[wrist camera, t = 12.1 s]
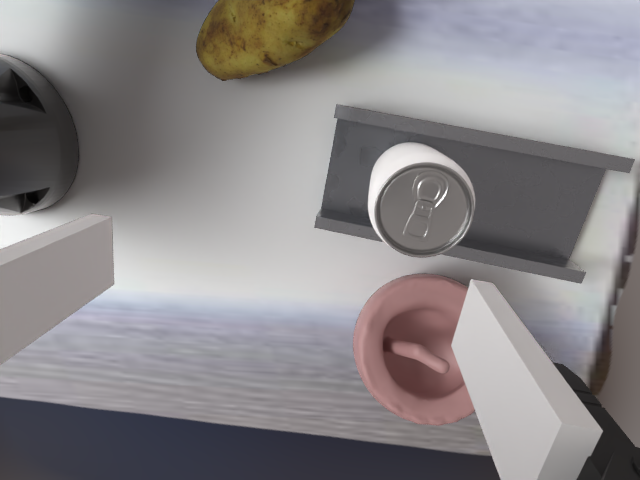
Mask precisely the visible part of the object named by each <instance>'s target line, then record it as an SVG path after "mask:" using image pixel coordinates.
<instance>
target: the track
mask: <svg viewBox="0 0 640 480" xmlns="http://www.w3.org/2000/svg"><path fill="white" fill-rule="evenodd" d="M334 118H338V119H337V125H336V130H335V136H334V141H333V147H332V152H331V158H330V163H329V169H328V174H327V180H326V185H325V191H324V196H323V202H322V207H321V210H320V211H319V213H318V215H317V216H316V222H315V227H314V228H319V229H324V230H329V231H333V232H338V233H343V234H348V235H353V236H357V237H362V238H367V239H372V240H376V241H381V242H384V241H383V240H382V239H381V238H380V237H379V236H378V234H377V233H376V231H375V230H374V228H373V226H372V223H371V221H370V217H369V212H368V195H369V186H370V179H371V173H372V170H373V167H374V165H375V163H376V161H377V160H378V158H379V157H380V156H381V155H382V154H383V153H384V152H385V151H386V150H388V149H389V148H391V147H393V146H395V145H397V144H401V143H407V142H415V143H421V144H425V145H428V146H430V147H432V148H433V149H435V150H437V151H439V152H440V153H442V154H444V155H445V156H447V157H448V158H450V159H451V160H453V161H454V162H455V163H457V164H458V165H459V166H460V167H461V168H462V169H463V170H464V171H465V173H466V174H467V176H468V177H469V179H470V181H471V183H472V186H473V189H474V194H475V210H474V216H473V220H472V224H471V226H470V228H469V230H468V232H467V234H466V235H465V236H464V238H463V239H462V240H461V241H460V242H459V243H458V244H457V245H456V246H454V247H453V248H452V249H450V250H448V251H446V252H444V253H442V254H443V255H448V256H452V257H457V258H462V259H467V260H472V261H476V262H481V263H486V264H491V265H495V266H500V267H505V268H510V269H514V270H519V271H524V272H529V273H533V274H538V275H543V276H548V277H552V278H557V279H562V280H567V281H571V282H576V283H582V281H583V279H584V276H585V274H586V272H585V271H584V270H582V269H581V268H580V267H578V266H577V265H576V264H574V263H573V262H572V261H570V260H569V258H570V255H571V253H572V250H573V248H574V245H575V243H576V240H577V238H578V236H579V233H580V231H581V228H582V226H583V223H584V221H585V218H586V216H587V214H588V211H589V209H590V206H591V204H592V201H593V199H594V197H595V194H596V192H597V189H598V187H599V184H600V182H601V179H602V177H603V175H604V172H605V170H606V169H610V170H615V171H621V172H626V173H629V172H630V169H631V167H632V165H633V162H634V160H635V159H630V158H625V157H619V156H614V155H608V154H603V153H598V152H592V151H587V150H581V149H576V148H571V147H565V146H560V145H554V144H549V143H543V142H538V141H533V140H527V139H522V138H516V137H511V136H505V135H500V134H495V133H489V132H484V131H478V130H473V129H467V128H462V127H457V126H451V125H446V124H440V123H435V122H429V121H424V120H419V119H413V118H408V117H402V116H397V115H392V114H386V113H381V112H375V111H370V110H364V109H359V108H354V107H348V106H343V105H337V104H336V110H335V115H334Z"/></svg>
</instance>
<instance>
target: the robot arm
mask: <svg viewBox="0 0 640 480" xmlns="http://www.w3.org/2000/svg"><path fill="white" fill-rule="evenodd" d="M77 165H78V141H77V135H76V131H75V127H74V124H73V121H72V118H71V116H70V113H69V111H68V109H67V107H66V105H65V103H64V102H63V100H62V98H61V97H60V95H59V94H58V93H57V91H56V90H55V89H54V87H53V86H52V85H51V84H50V83H49V82H48V81H47V80H46V79H45V78H44V77H43V76H42V75H41V74H40V73H39V72H37V71H36V70H35V69H34V68H32V67H31V66H29V65H27V64H26V63H24V62H22V61H20V60H18V59H16V58H13V57H10V56H7V55H3V54H0V215H4V216H11V215H21V214H26V213H30V212H33V211H37V210H41V209H44V208H47V207H49V206H51V205H53V204H54V203H56V202H57V201H58V200H60V199H61V198H62V197H63V196H64V195H65V193H66V192H67V191H68V189H69V188H70V186H71V184H72V182H73V180H74V177H75V174H76V170H77ZM113 285H114V263H113V234H112V217H109V216H103V215H97V214H90V215H87V216H84V217H82V218H79V219H77V220H74V221H72V222H69V223H67V224H64V225H61V226H59V227H56V228H54V229H51V230H49V231H46V232H43V233H41V234H38V235H36V236H33V237H31V238H28V239H26V240H23V241H20V242H18V243H15V244H13V245H10V246H8V247H5V248H3V249H0V365H1V364H3V363H4V362H6V361H7V360H8V359H10V358H11V357H13V356H14V355H15V354H17V353H18V352H20V351H21V350H22V349H24V348H25V347H27V346H28V345H29V344H31V343H32V342H34V341H35V340H37V339H38V338H39V337H41V336H42V335H44V334H45V333H46V332H48V331H49V330H51V329H52V328H53V327H55V326H56V325H58V324H59V323H60V322H62V321H63V320H65V319H66V318H67V317H69V316H70V315H72V314H73V313H75V312H76V311H77V310H79V309H80V308H82V307H83V306H84V305H86V304H87V303H89V302H90V301H91V300H93V299H94V298H96V297H97V296H98V295H100V294H101V293H103V292H104V291H105V290H107V289H108V288H110V287H111V286H113ZM451 347H452V349H453V352H454V355H455V358H456V360H457V363H458V366H459V368H460V371H461V374H462V376H463V379H464V382H465V384H466V387H467V390H468V393H469V395H470V398H471V401H472V403H473V406H474V409H475V411H476V414H477V417H478V420H479V422H480V425H481V428H482V430H483V433H484V436H485V438H486V441H487V444H488V447H489V449H490V452H491V455H492V457H493V460H494V463H495V465H496V468H497V471H498V474H499V476H500V479H501V480H640V448H638V447H635V446H634V444H633V443H632V442H631V441H630V439H629V438H628V437H627V436H626V434H625V433H624V432H623V431H622V430H621V428H620V427H619V426H618V425H617V423H616V422H615V421H614V420H613V418H612V417H611V416H610V415H609V413H608V412H607V411H606V410H605V408H602V407H601V403H600V402H599V401H598V400H597V398H596V397H595V396H594V395H592V392H591V391H590V390H589V388H588V387H587V386H586V385H585V383H584V382H583V381H582V380H581V378H579V377H578V376H577V375H576V374H574V373H573V372H572V371H570V370H569V369H568V368H567V367H565V366H564V365H563V364H558V363H552V362H551V360H550V359H549V357H548V356H547V355H546V353H545V352H544V351H543V349H542V348H541V347H540V345H539V344H538V343H537V341H536V340H535V339H534V337H533V336H532V335H531V333H530V332H529V331H528V329H527V328H526V327H525V325H524V324H523V322H522V321H521V320H520V318H519V317H518V316H517V314H516V313H515V312H514V310H513V309H512V308H511V306H510V305H509V304H508V302H507V301H506V300H505V298H504V297H503V296H502V294H501V293H500V292H499V290H498V289H497V287H496V286H495V285H494V283H491V282H485V281H479V280H473V279H471V281H470V284H469V288H468V291H467V294H466V298H465V301H464V304H463V308H462V311H461V314H460V318H459V321H458V324H457V328H456V331H455V334H454V338H453V341H452V344H451Z"/></svg>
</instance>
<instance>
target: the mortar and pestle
mask: <svg viewBox="0 0 640 480" xmlns="http://www.w3.org/2000/svg"><path fill="white" fill-rule="evenodd" d="M467 291H468V287H467V286H465V285H463V284H462V283H460V282H458V281H455V280H453V279H451V278H448V277H444V276H441V275H435V274H412V275H406V276H403V277H400V278H397V279H395V280H392V281H390V282H389V283H387V284H385V285H384V286H382V287H381V288H379V289H378V290H377V291H376V292H375V293H374V294H373V295H372V296H371V297H370V298H369V299H368V301H367V302H366V303H365V305H364V307H363V308H362V310H361V312H360V314H359V317H358V319H357V322H356V326H355V330H354V337H353V351H354V357H355V362H356V365H357V369H358V371H359V374H360V376H361V379H362V380H363V382H364V384H365V386H366V387H367V389H368V390H369V392H370V393H371V394H372V395H373V397H374V398H375V399H376V400H377V401H378V402H379V403H380V404H381V405H383V406H384V407H385V408H386V409H388V410H389V411H391V412H392V413H394V414H396V415H398V416H400V417H401V418H403V419H406V420H409V421H412V422H414V423H417V424H429V425H443V424H448V423H454V422H457V421H459V420H460V419H462V418H465V417H467V416H469V415H471V414H472V413H473V412H474V411H475V409H474V406H473V403H472V401H471V398H470V395H469V393H468V390H467V387H466V384H465V382H464V379H463V376H462V374H461V371H460V368H459V366H458V363H457V360H456V358H455V355H454V352H453V349H452V347H451V344H452V341H453V338H454V334H455V331H456V328H457V324H458V321H459V318H460V314H461V311H462V308H463V304H464V301H465V298H466V294H467Z"/></svg>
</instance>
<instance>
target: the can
mask: <svg viewBox="0 0 640 480" xmlns="http://www.w3.org/2000/svg"><path fill="white" fill-rule="evenodd" d="M474 210H475V194H474V189H473V186H472V183H471V181H470V179H469V177H468V176H467V174H466V173H465V171H464V170H463V169H462V168H461V167H460V166H459V165H458V164H457V163H455V162H454V161H453V160H451V159H450V158H448V157H447V156H445V155H444V154H442V153H440V152H439V151H437V150H435V149H433V148H432V147H430V146H428V145H425V144H421V143H415V142H407V143H401V144H397V145H395V146H393V147H391V148H389V149H388V150H386V151H385V152H384V153H383V154H382V155H381V156H380V157H379V158H378V160H377V161H376V163H375V165H374V167H373V170H372V173H371V179H370V186H369V195H368V212H369V217H370V221H371V223H372V226H373V228H374V230H375V231H376V233H377V234H378V236H379V237H380V238H381V239H382V240H383V241H384V242H385V243H386V244H387V245H389V246H390V247H392V248H393V249H395V250H396V251H398V252H400V253H402V254H405V255H408V256H413V257H432V256H436V255H439V254H442V253H444V252H446V251H448V250H450V249H452V248H453V247H454V246H456V245H457V244H458V243H459V242H460V241H461V240H462V239H463V238H464V236H465V235H466V234H467V232H468V230H469V228H470V226H471V224H472V220H473V216H474Z"/></svg>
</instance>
